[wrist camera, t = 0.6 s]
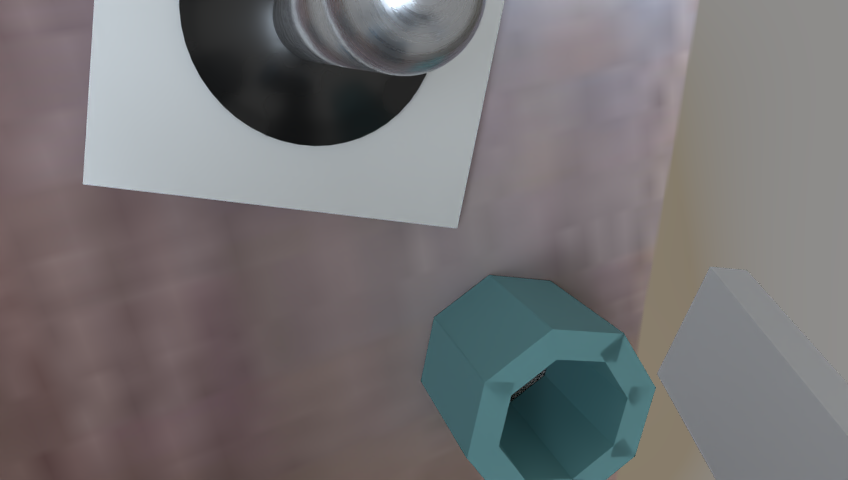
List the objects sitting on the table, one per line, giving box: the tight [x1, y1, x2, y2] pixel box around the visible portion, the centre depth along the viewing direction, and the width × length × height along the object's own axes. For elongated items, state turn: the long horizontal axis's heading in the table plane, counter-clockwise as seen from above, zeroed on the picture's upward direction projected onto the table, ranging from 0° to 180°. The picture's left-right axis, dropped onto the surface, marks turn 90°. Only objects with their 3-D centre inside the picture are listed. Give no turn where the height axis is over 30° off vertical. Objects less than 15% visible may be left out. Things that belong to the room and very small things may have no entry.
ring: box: [421, 275, 656, 480], centre depth 27 cm, size 8×8×6 cm
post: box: [179, 0, 486, 146], centre depth 16 cm, size 9×9×14 cm
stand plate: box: [83, 0, 505, 228], centre depth 23 cm, size 14×14×1 cm
